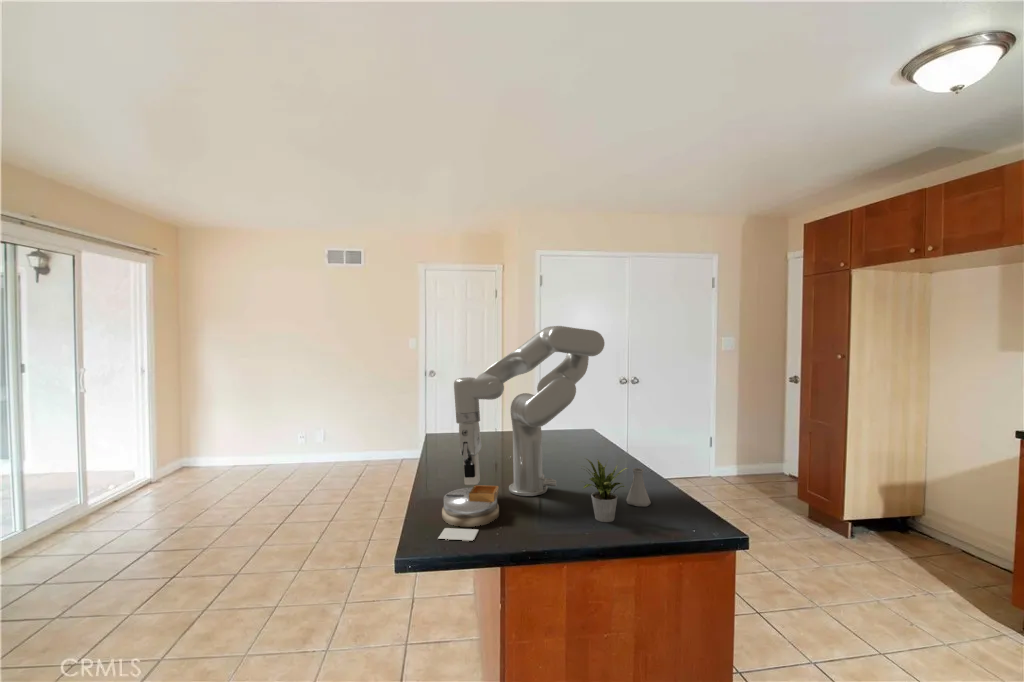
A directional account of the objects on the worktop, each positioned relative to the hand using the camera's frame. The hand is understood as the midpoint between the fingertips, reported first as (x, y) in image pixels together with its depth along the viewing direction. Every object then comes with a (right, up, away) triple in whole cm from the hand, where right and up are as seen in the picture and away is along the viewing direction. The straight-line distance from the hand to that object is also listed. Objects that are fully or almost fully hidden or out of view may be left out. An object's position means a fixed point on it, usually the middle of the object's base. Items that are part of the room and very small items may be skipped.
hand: (471, 474), depth 138 cm
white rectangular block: (0, -3, 0) cm, 3 cm away
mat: (-1, -7, -27) cm, 28 cm away
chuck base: (+1, -7, -14) cm, 16 cm away
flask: (+51, -7, -7) cm, 52 cm away
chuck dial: (+1, -5, -14) cm, 15 cm away
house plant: (+37, -7, -17) cm, 41 cm away
